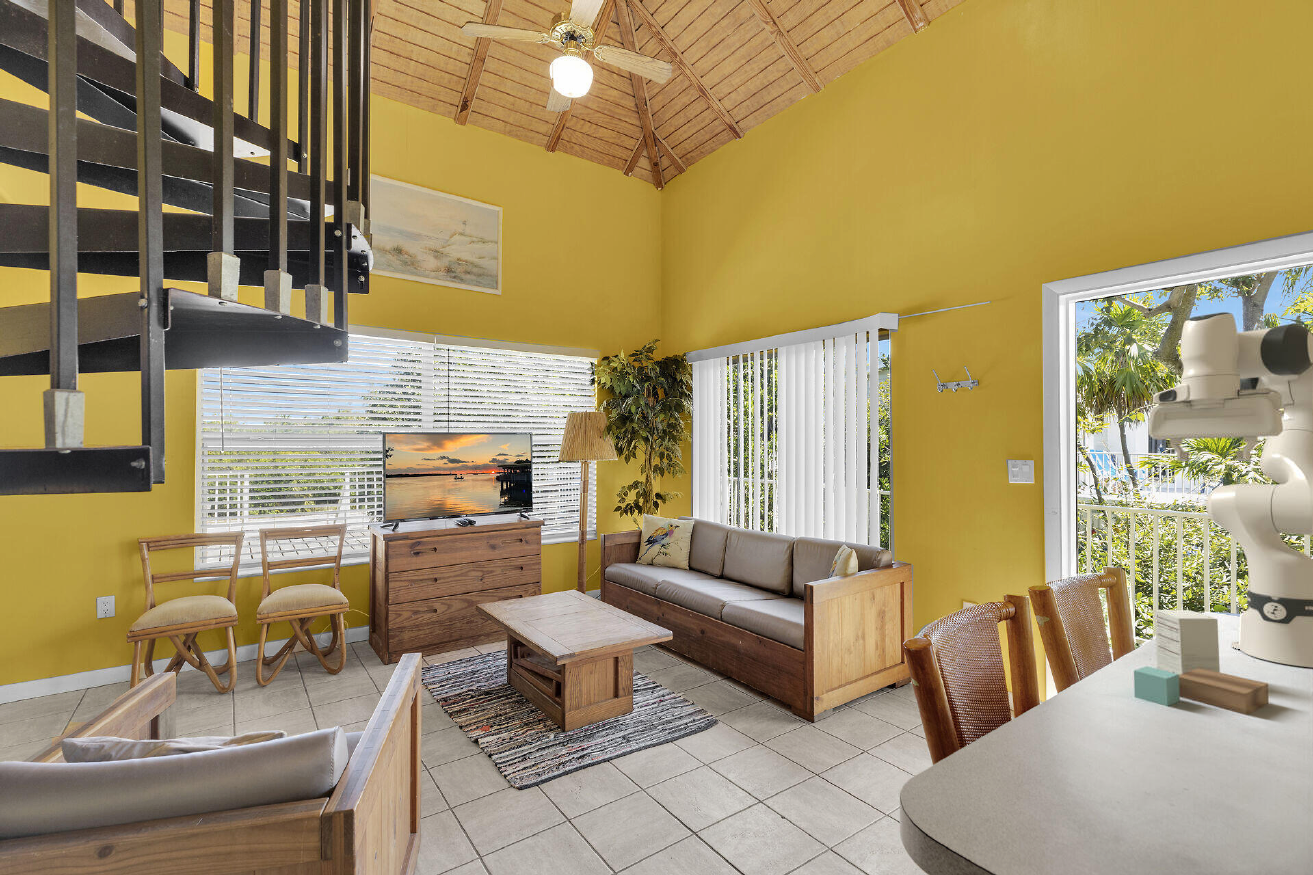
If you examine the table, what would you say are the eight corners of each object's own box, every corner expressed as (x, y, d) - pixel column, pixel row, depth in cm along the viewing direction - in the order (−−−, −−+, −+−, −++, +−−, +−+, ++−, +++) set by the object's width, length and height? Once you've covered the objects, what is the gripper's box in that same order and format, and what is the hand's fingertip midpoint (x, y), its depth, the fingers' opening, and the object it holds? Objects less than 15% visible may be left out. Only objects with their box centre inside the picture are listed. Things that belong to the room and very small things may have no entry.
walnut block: (1199, 688, 120) (1198, 667, 120) (1268, 705, 111) (1267, 683, 112) (1175, 697, 115) (1175, 676, 116) (1246, 716, 107) (1245, 693, 107)
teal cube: (1147, 692, 117) (1146, 666, 117) (1179, 701, 113) (1178, 674, 113) (1134, 697, 115) (1133, 670, 115) (1167, 706, 110) (1166, 678, 111)
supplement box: (1192, 669, 130) (1190, 609, 130) (1221, 682, 123) (1219, 618, 123) (1155, 668, 131) (1153, 608, 131) (1181, 680, 123) (1179, 617, 124)
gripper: (1287, 388, 116) (1290, 460, 116) (1157, 398, 134) (1159, 461, 133) (1274, 385, 113) (1277, 460, 112) (1144, 396, 131) (1145, 460, 130)
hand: (1212, 460), depth 123 cm, fingers open, 8 cm apart
